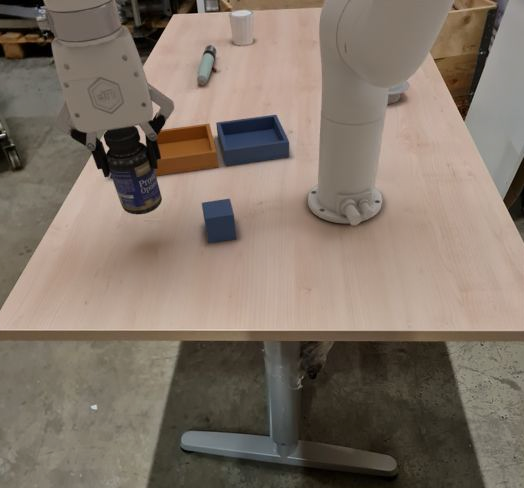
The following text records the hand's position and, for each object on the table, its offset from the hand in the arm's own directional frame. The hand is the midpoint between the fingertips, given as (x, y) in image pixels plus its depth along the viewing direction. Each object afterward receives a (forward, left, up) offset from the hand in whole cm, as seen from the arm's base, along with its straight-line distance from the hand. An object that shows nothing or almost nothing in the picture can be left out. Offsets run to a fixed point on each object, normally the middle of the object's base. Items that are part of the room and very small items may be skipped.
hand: (131, 167), depth 68 cm
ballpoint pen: (+27, +5, -13) cm, 31 cm away
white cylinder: (+88, -29, -13) cm, 94 cm away
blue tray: (+27, -21, -13) cm, 37 cm away
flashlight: (+69, -17, -13) cm, 72 cm away
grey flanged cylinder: (+41, -54, -13) cm, 69 cm away
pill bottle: (0, 0, -6) cm, 6 cm away
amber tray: (+27, -7, -13) cm, 31 cm away
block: (0, -11, -13) cm, 17 cm away
